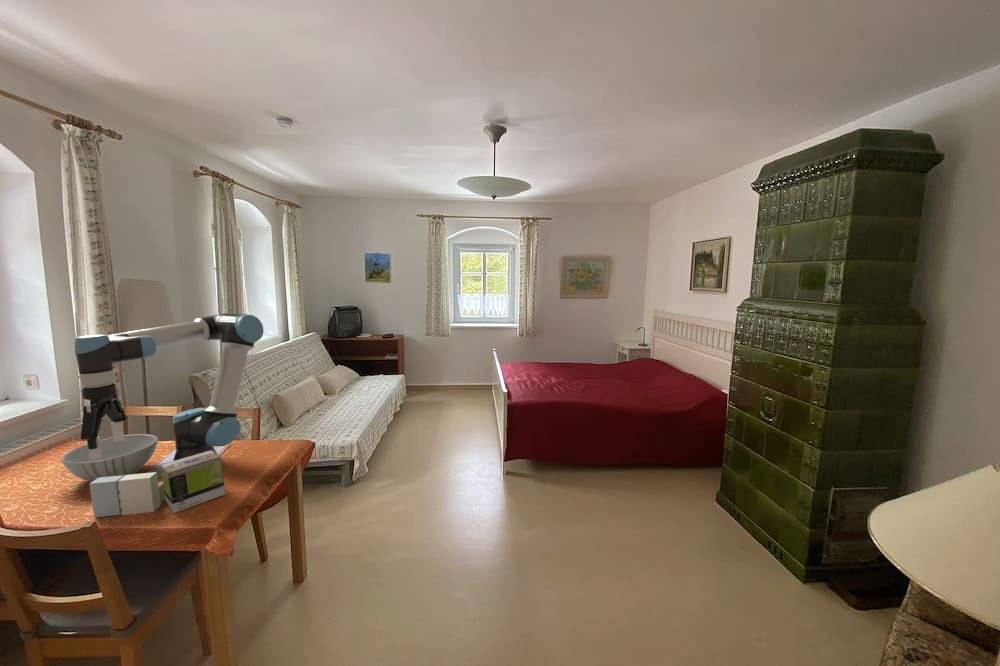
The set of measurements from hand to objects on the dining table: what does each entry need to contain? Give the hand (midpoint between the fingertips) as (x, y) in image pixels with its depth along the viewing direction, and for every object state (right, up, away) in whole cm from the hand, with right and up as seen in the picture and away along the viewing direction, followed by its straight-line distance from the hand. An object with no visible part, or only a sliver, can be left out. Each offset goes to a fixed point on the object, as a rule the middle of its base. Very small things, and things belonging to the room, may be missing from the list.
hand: (108, 449), depth 127 cm
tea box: (+18, -22, +13) cm, 31 cm away
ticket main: (+4, -22, +9) cm, 24 cm away
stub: (-3, -23, +4) cm, 23 cm away
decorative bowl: (-25, -19, +29) cm, 43 cm away
